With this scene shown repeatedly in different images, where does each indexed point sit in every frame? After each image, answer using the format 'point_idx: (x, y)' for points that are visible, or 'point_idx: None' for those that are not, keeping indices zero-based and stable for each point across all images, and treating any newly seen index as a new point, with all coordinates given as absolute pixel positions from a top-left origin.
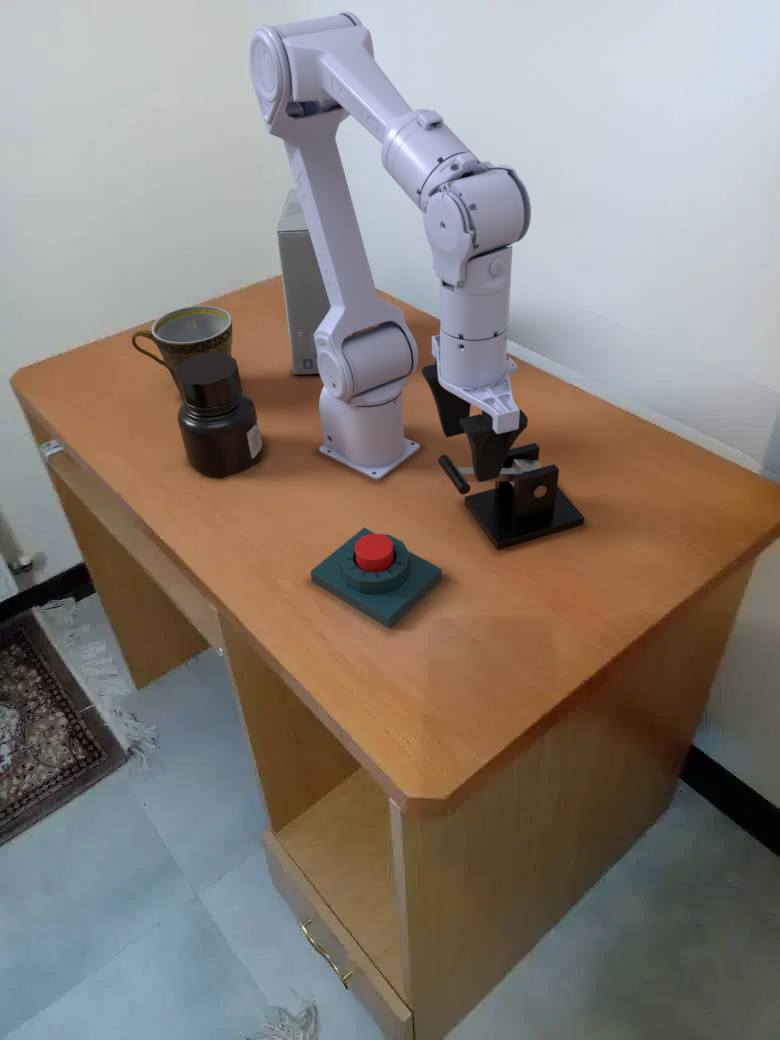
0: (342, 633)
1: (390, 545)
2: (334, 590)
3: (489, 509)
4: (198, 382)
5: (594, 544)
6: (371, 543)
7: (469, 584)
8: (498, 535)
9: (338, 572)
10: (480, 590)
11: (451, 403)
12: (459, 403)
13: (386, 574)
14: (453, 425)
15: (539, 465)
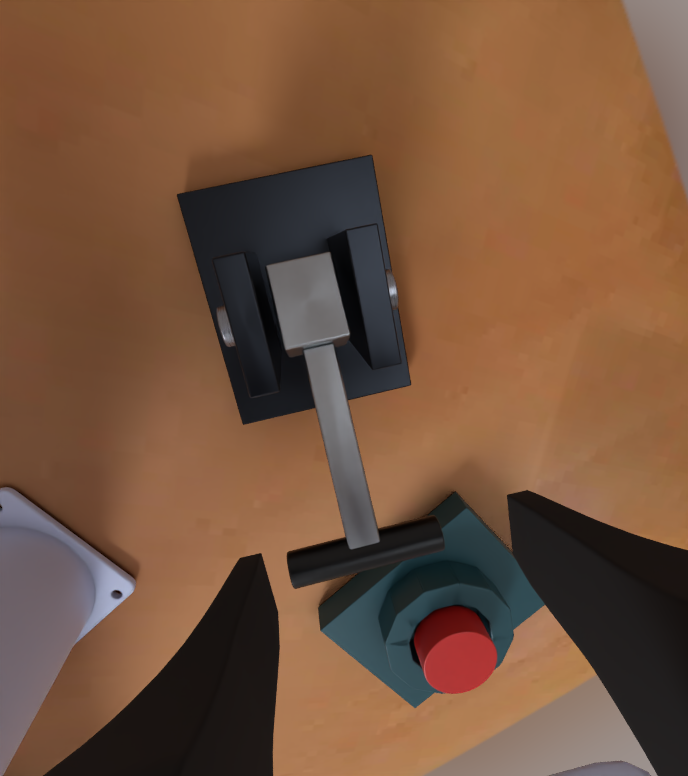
0: (520, 639)
1: (466, 635)
2: None
3: (299, 378)
4: None
5: (430, 156)
6: (451, 667)
7: (474, 445)
8: (387, 377)
9: None
10: (494, 429)
11: (258, 722)
12: (250, 683)
13: (502, 624)
14: (270, 624)
15: (301, 266)
